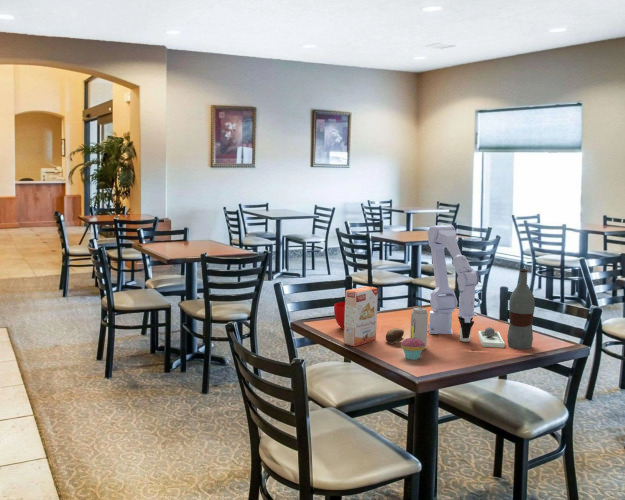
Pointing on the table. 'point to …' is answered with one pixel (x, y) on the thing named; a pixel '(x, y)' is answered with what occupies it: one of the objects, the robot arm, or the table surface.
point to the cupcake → (412, 346)
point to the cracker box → (360, 315)
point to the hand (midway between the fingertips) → (465, 336)
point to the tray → (491, 340)
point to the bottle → (521, 315)
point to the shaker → (464, 338)
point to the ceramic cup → (340, 313)
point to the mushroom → (394, 335)
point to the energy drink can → (419, 324)
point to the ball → (489, 332)
